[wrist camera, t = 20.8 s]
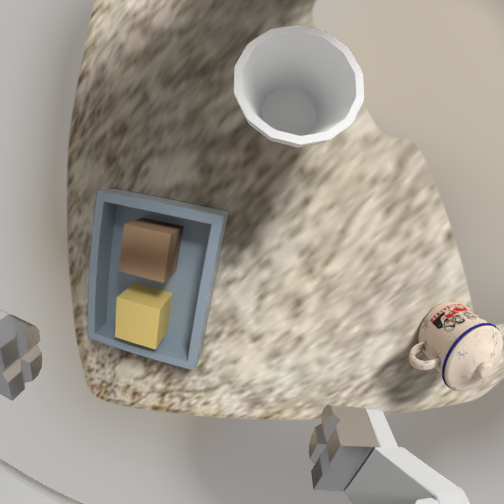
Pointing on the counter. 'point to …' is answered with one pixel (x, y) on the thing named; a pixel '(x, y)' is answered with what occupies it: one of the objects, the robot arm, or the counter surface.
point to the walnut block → (150, 249)
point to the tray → (179, 283)
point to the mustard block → (143, 315)
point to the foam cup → (298, 85)
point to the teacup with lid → (458, 345)
